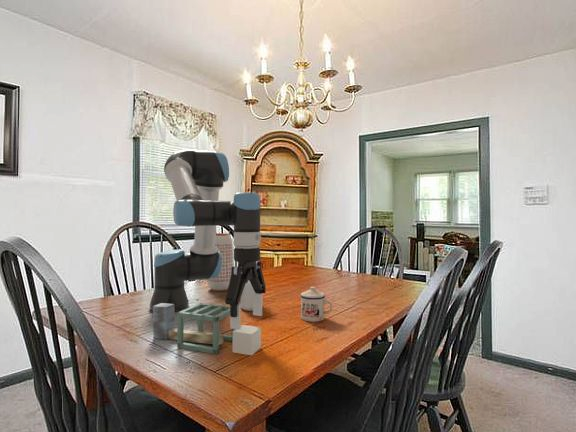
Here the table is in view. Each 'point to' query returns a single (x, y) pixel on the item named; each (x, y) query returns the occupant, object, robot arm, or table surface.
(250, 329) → the block
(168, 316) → the mallet
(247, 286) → the mug
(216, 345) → the tube cage
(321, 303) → the teacup with lid
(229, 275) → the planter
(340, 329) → the table surface
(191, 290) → the table surface
